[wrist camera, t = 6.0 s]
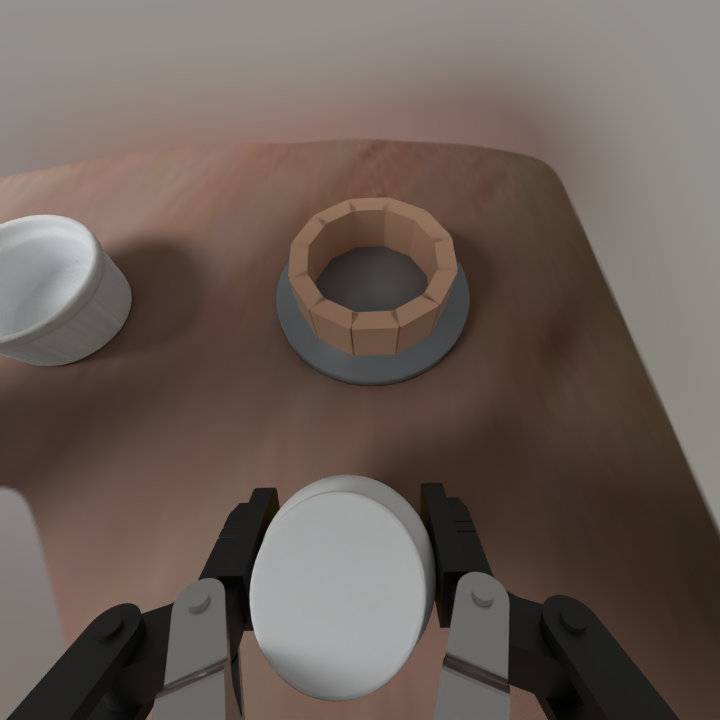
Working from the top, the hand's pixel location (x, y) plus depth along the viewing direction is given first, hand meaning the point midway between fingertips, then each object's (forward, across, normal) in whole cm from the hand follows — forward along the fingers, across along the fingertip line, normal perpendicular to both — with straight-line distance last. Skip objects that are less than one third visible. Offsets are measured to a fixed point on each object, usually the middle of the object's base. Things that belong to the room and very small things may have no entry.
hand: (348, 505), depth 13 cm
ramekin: (+12, +18, -5) cm, 23 cm away
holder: (+12, -1, -5) cm, 13 cm away
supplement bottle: (+2, 0, +5) cm, 5 cm away
